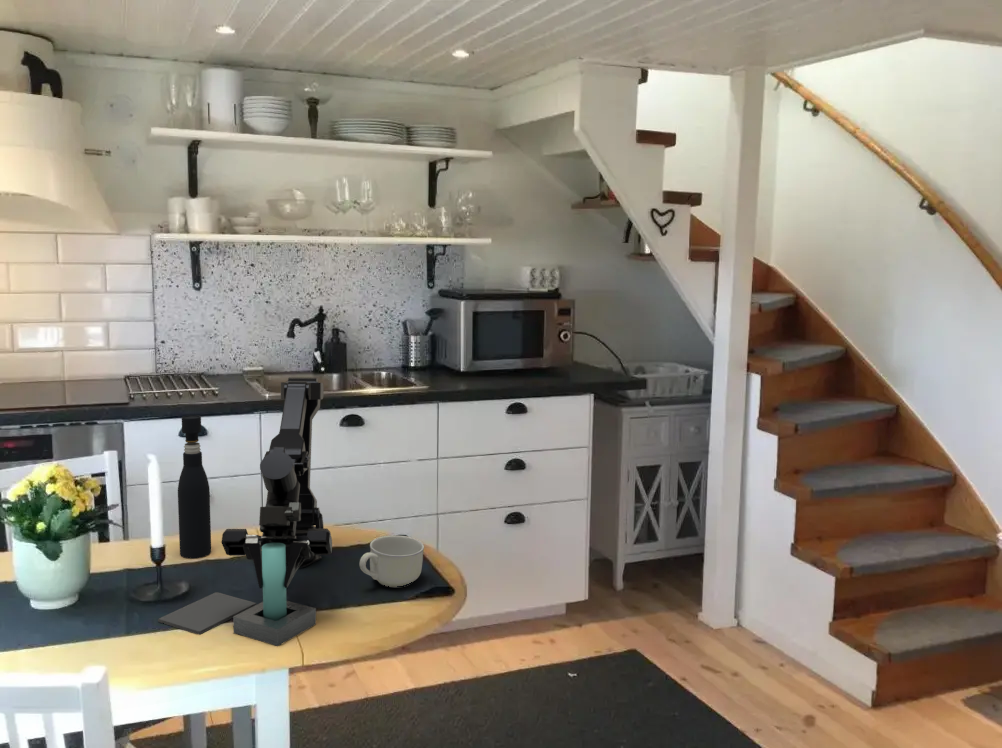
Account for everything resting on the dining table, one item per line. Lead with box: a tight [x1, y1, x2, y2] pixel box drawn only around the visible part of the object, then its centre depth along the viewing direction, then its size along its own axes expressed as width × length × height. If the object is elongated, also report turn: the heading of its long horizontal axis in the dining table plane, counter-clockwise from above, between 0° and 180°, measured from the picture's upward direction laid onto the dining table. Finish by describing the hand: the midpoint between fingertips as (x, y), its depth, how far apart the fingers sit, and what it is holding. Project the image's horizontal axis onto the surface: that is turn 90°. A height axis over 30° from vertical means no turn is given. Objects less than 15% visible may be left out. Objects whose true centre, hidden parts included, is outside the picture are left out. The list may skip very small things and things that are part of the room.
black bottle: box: [177, 414, 212, 560], centre depth 194 cm, size 6×6×30 cm
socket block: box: [232, 599, 317, 647], centre depth 161 cm, size 10×10×3 cm
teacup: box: [358, 534, 425, 588], centre depth 182 cm, size 14×11×8 cm
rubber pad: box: [157, 591, 257, 635], centre depth 167 cm, size 14×10×1 cm
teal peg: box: [262, 542, 287, 621], centre depth 160 cm, size 4×4×14 cm
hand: (273, 587), depth 159 cm, fingers closed on teal peg, 4 cm apart
